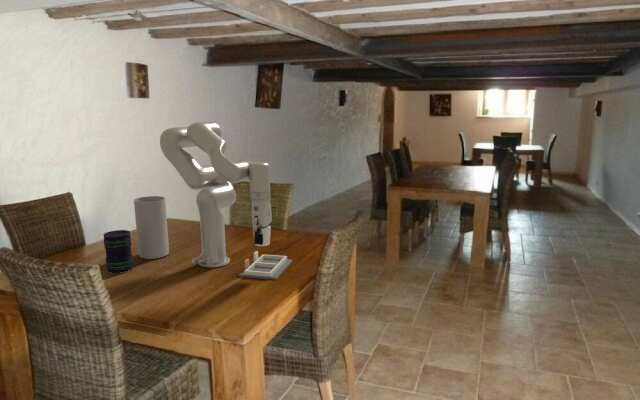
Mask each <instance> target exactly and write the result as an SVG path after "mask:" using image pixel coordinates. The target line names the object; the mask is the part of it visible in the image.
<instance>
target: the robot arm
mask: <svg viewBox="0 0 640 400" xmlns="http://www.w3.org/2000/svg"><path fill="white" fill-rule="evenodd" d="M159 145H160V146H159V147H160V149H161V152H162V154H163V156H164V157H165V158H166V160H167V161H168V162H169V163H170V164H171V166H173V167H174V169H175V170H176V172H177V173H178V174H179V176H180V177H181V178H182V180H183V181H184V182H185V184H186V185H187V186H188V187H189V189H191V190H193V191H199V192H198V193H197V195H196V198H195V201H196V206H197V210H198V215H199V223H200V226H199V227H200V238H201V239H200V241H201V253H199V255H198V256H197V257H193V258H191V263H192V264H195V263H198V265H199V266H201V267H204V268H219V267H223V266H226V265H228V264H230V261H231V258H230V257H228V256H227V253H226V252H227V250H226V231H225V230H226V229H225V219H224V216H223V214H222V212H221V209H224V208H227V207H230V206H232V205H234V203H235V202H236V200H237V194H236V190H235V188H234V186H233V185H232V184H237V183H241V182H247V181H249V192H250V193H249V194H250V201H251V225H252V232H253V231H254V234H253V241H254V240H255V241H254V245H255V244H260V245H262V244H263V234H262V227H265V226H267V225H270V224H271V223H272V222H273V213H272V204H271V198H272V197H271V176H270V175H271V172H270V171H271V170H270V165H269V163H268V162H265V161H259V162H258V161H252V160H242V161H241V160H240V161H233V162H232V161H231V160H229V158H227V157H226V156H225V155H224V154H225V152H226V150H227V146H228V145H227V142H226V141H225V140H224V139H223V138H222V129H221V127H220V125H219V124H217V123H216V122H214V121H196V122H193V123H191V124H190V125H188V126H179V127H171V128H166V129H165V130H163V132H162V133H160V137H159ZM193 147H197V148H199V149H200V150H201V151H202V152H203V153H205V155H207V156H208V157H209V158H210V164H205V165H202V164H199V163H198V162H197V160H196V159H195V157H194V156H193V155H192V154H191V153H189V152H188V151H186V150H184V149H185V148H193ZM257 225H261V226H257ZM258 228H260V230H259V229H258Z"/></svg>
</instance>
